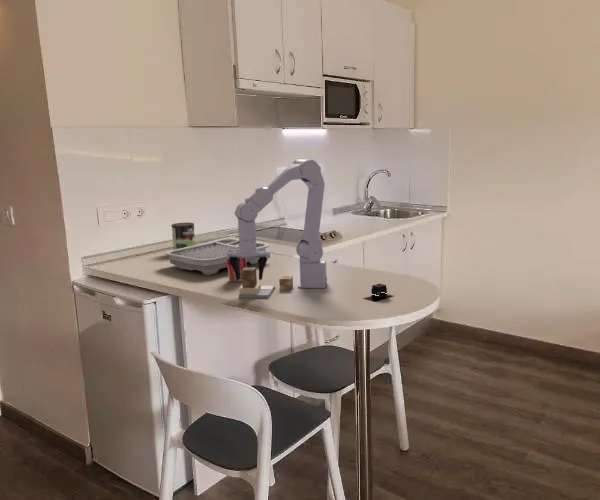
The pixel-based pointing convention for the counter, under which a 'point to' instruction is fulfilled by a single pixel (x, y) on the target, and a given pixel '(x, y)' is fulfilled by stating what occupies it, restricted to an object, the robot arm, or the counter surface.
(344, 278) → the counter surface
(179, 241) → the coffee can
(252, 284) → the walnut block
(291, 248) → the counter surface
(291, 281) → the oak block
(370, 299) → the black brimmed piece
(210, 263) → the dish rack
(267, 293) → the plate
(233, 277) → the soda can
